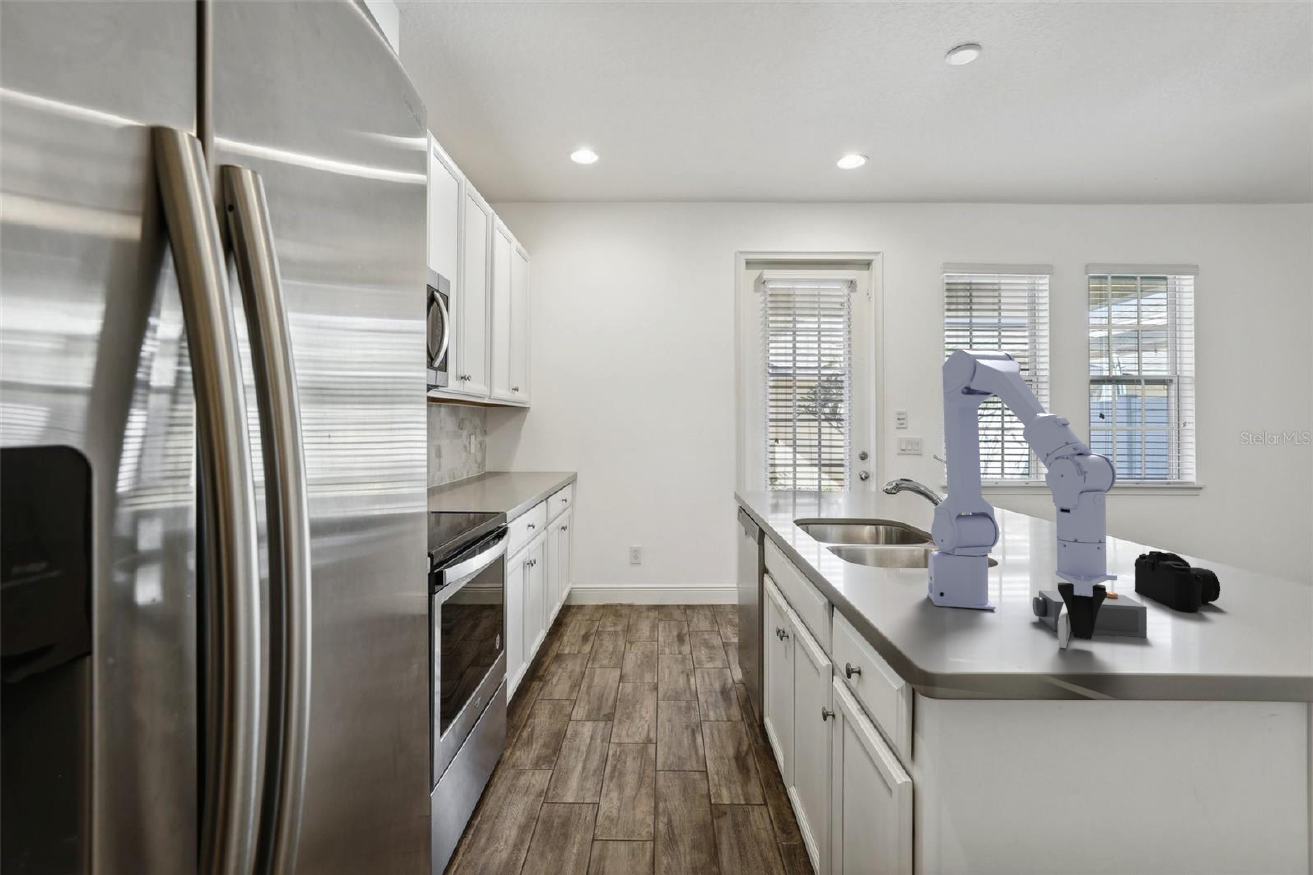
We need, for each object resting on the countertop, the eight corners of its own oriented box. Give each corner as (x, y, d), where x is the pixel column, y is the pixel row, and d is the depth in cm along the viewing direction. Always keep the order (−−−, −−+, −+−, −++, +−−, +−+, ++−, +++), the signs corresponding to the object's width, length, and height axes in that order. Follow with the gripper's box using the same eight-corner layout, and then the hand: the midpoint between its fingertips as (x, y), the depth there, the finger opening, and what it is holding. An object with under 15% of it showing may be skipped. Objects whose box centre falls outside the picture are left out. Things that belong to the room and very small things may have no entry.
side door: (1063, 629, 93) (1063, 601, 93) (1071, 630, 92) (1071, 603, 92) (1057, 646, 85) (1057, 616, 85) (1067, 648, 85) (1066, 618, 85)
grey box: (1046, 630, 94) (1045, 597, 94) (1030, 617, 100) (1030, 586, 100) (1147, 637, 90) (1147, 603, 90) (1124, 623, 97) (1123, 591, 97)
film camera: (1243, 616, 101) (1243, 562, 101) (1175, 613, 103) (1175, 560, 103) (1184, 594, 116) (1184, 546, 116) (1126, 591, 118) (1126, 545, 118)
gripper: (1121, 550, 78) (1122, 657, 78) (1112, 535, 90) (1113, 628, 90) (1054, 545, 82) (1056, 647, 81) (1055, 532, 94) (1056, 620, 94)
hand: (1082, 637), depth 86 cm, fingers closed, pressing on side door
